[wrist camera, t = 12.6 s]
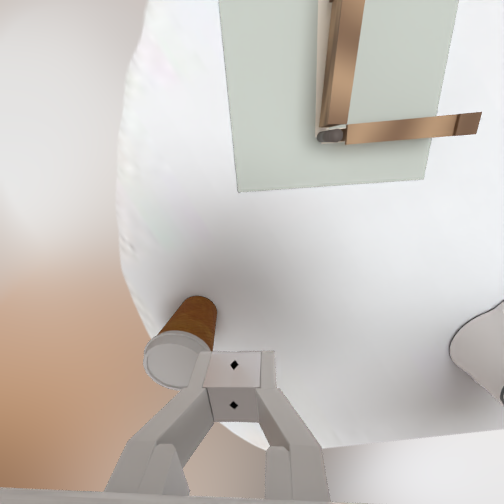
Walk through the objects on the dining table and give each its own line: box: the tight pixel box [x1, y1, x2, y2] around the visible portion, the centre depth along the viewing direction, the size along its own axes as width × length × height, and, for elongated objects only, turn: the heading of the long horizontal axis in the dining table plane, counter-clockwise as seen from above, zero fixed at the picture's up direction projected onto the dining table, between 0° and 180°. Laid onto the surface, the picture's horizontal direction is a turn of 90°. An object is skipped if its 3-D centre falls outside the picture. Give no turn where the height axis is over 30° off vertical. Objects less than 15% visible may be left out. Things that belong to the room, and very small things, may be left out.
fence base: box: [317, 112, 482, 145], centre depth 26 cm, size 14×2×7 cm, turn 95°
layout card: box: [219, 0, 459, 192], centre depth 29 cm, size 24×20×1 cm
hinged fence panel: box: [319, 0, 365, 127], centre depth 24 cm, size 13×2×6 cm, turn 0°
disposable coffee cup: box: [143, 296, 217, 391], centre depth 38 cm, size 10×10×12 cm
